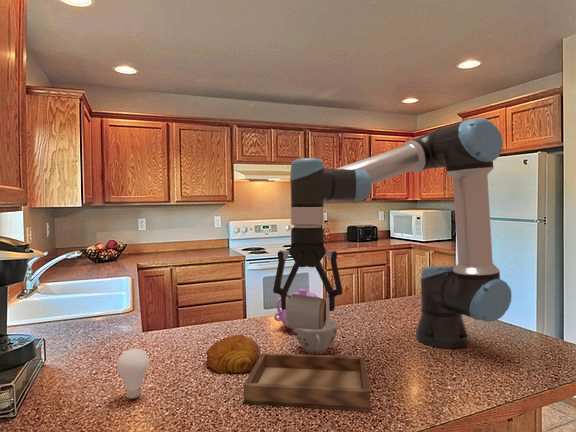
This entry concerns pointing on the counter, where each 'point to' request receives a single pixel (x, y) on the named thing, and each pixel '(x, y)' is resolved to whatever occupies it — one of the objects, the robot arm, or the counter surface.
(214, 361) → the croissant
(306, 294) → the teapot
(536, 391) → the counter surface
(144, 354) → the light bulb
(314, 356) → the tray
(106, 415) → the counter surface
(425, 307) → the robot arm
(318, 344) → the teacup
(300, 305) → the ceramic mug
